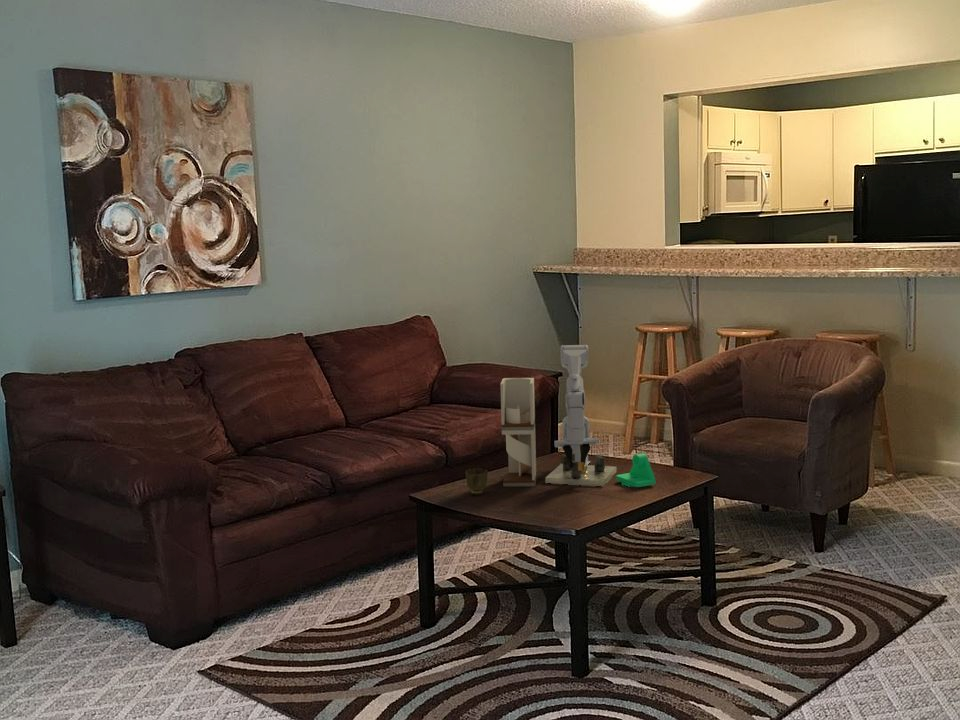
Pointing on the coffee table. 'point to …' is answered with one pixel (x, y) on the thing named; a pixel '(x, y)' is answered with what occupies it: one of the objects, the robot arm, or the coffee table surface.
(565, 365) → the robot arm
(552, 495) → the coffee table surface
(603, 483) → the base
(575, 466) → the tan-ended square prism
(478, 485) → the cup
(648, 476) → the camera mount
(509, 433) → the white dispenser tower
